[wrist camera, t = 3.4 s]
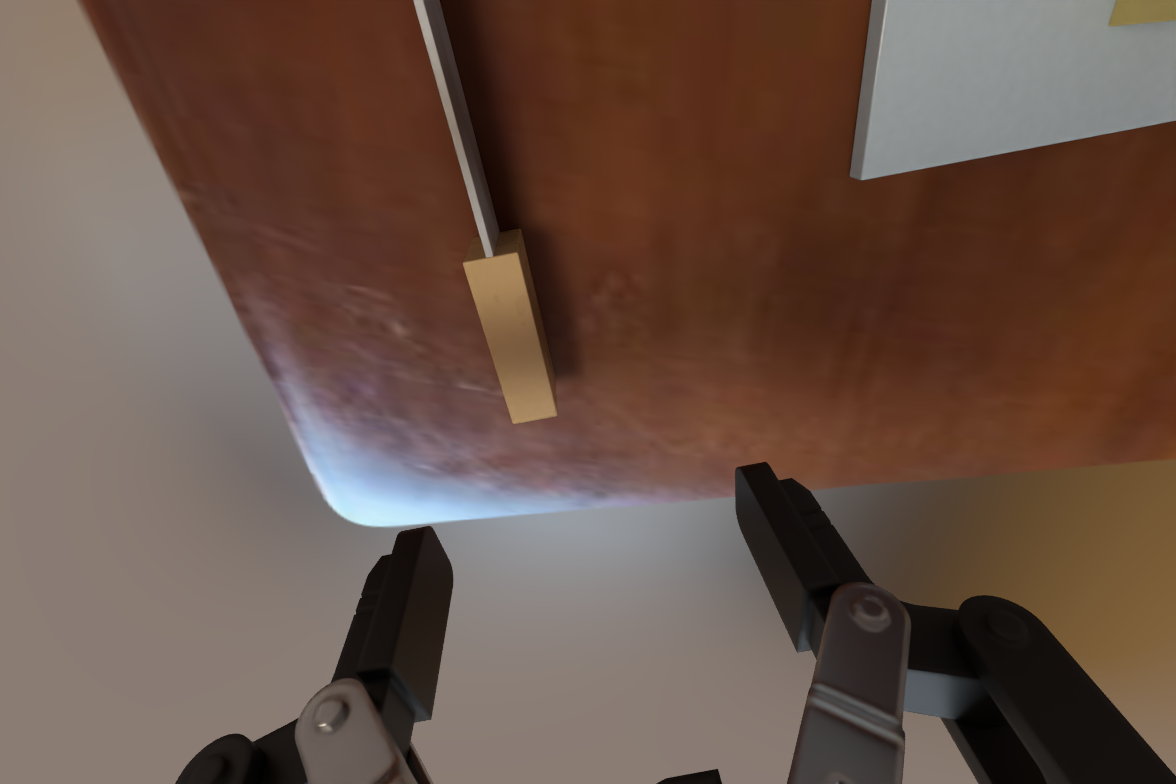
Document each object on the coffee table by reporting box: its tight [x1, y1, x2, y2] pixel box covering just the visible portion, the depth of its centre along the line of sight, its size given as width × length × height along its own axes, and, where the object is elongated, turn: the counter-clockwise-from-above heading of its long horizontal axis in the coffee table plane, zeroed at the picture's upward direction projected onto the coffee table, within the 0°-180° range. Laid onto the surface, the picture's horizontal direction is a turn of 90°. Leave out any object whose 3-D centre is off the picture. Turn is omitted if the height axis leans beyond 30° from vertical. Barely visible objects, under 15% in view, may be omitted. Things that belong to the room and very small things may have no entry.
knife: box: [413, 0, 558, 424], centre depth 20 cm, size 17×2×4 cm, turn 9°
